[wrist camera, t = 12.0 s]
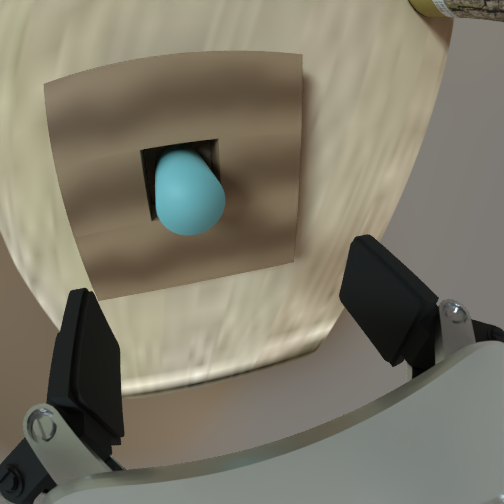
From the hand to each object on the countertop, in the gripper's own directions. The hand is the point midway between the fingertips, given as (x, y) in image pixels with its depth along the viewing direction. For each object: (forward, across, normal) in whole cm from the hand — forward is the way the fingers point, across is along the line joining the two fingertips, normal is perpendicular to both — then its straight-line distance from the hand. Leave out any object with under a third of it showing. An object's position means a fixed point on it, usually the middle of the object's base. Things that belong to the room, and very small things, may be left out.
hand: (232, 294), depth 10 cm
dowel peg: (+18, 0, +1) cm, 18 cm away
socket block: (+18, 0, +1) cm, 18 cm away
